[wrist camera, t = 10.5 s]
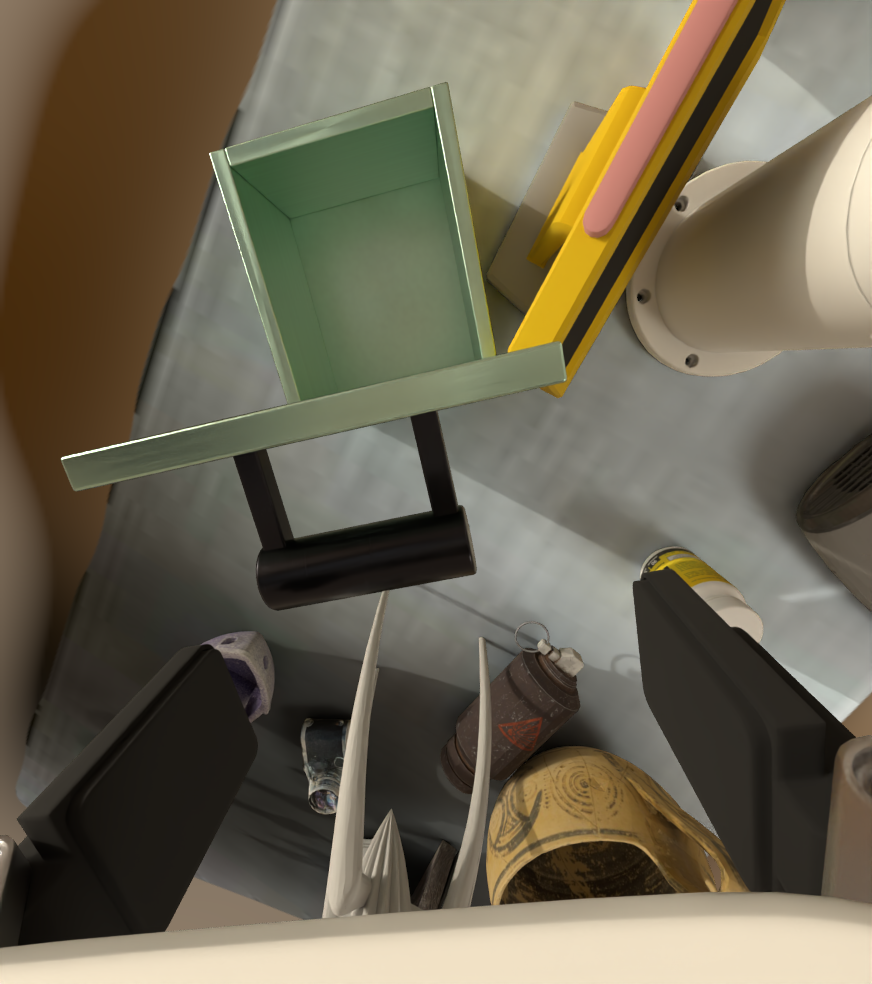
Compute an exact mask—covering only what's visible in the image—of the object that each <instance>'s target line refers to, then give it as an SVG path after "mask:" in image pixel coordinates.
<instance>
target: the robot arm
mask: <svg viewBox="0 0 872 984" xmlns="http://www.w3.org/2000/svg"><path fill="white" fill-rule="evenodd" d="M675 205H678V207H679V210H678V211H677V210H676V208H675ZM638 294H640V295H641V296H642V299H641V301H640V302H638V300H637V295H638ZM626 301H627V309H628V313H629V317H630V321H631V324H632V326H633V328H634V331H635V333H636V335H637V337H638V339H639V340H640V342H641V343H642V344H643V346H644V347H645V348H646V350H647V351H648V352H649V353H650V354H651V355H652V356H654V357H655V358H656V359H657V360H658V361H659V362H661V363H662V364H664V365H666V366H668V367H670V368H672V369H674V370H676V371H679V372H682V373H686V374H690V375H696V376H706V377H710V376H728V375H732V374H737V373H741V372H745V371H747V370H750V369H752V368H755V367H757V366H760V365H762V364H763V363H765V362H767V361H768V360H770V359H772V358H773V357H775V356H777V355H778V354H780V353H781V352H782V351H785V350H813V349H840V348H867V347H872V96H870V97H869V98H867V99H865V100H864V101H862V102H861V103H859V104H858V105H856V106H855V107H853V108H851V109H850V110H848V111H847V112H845V113H844V114H842V115H841V116H839V117H837V118H836V119H834V120H833V121H831V122H830V123H828V124H827V125H825V126H823V127H822V128H820V129H819V130H817V131H816V132H814V133H813V134H811V135H809V136H808V137H806V138H805V139H803V140H802V141H800V142H799V143H797V144H795V145H794V146H792V147H791V148H789V149H788V150H786V151H784V152H783V153H781V154H780V155H778V156H777V157H775V158H774V159H772V160H770V161H769V162H760V161H742V162H736V163H730V164H725V165H722V166H720V167H717V168H714V169H712V170H709V171H706V172H704V173H703V174H701V175H699V176H698V177H696V178H694V179H693V180H691V181H689V182H688V183H686V185H685V187H684V189H683V190H682V192H681V194H680V195H679V197H678V199H677V201H676V202H675V204H674V206H673V207H672V209H671V211H670V213H669V214H668V216H667V218H666V219H665V221H664V223H663V225H662V226H661V228H660V230H659V231H658V233H657V235H656V237H655V238H654V240H653V242H652V243H651V245H650V247H649V248H648V250H647V252H646V254H645V255H644V257H643V259H642V260H641V262H640V264H639V266H638V267H637V269H636V271H635V272H634V274H633V276H632V278H631V279H630V281H629V283H628V284H627V286H626ZM686 358H688V363H687V364H685V360H686ZM640 579H641V580H640V581H634V582H633V596H634V605H635V615H636V624H637V634H638V644H639V653H640V663H641V673H642V682H643V690H644V694H645V697H646V700H647V703H648V705H649V707H650V709H651V711H652V713H653V715H654V716H655V718H656V720H657V722H658V724H659V726H660V728H661V730H662V731H663V733H664V735H665V737H666V739H667V741H668V743H669V744H670V746H671V748H672V750H673V752H674V754H675V756H676V757H677V759H678V761H679V763H680V765H681V767H682V769H683V771H684V772H685V774H686V776H687V778H688V780H689V782H690V784H691V785H692V787H693V789H694V791H695V793H696V795H697V797H698V798H699V800H700V802H701V804H702V806H703V808H704V810H705V811H706V813H707V815H708V817H709V819H710V821H711V823H712V825H713V826H714V828H715V830H716V832H717V834H718V836H719V838H720V839H721V841H722V843H723V845H724V847H725V849H726V851H727V852H728V854H729V856H730V858H731V860H732V862H733V864H734V866H735V867H736V869H737V871H738V873H739V875H740V877H741V879H742V880H743V882H744V884H745V885H746V887H747V888H748V889H749V890H750V891H751V892H698V893H680V894H661V895H643V896H624V897H605V898H587V899H572V900H559V901H545V902H532V903H518V904H505V905H492V906H478V907H465V908H451V909H438V910H424V911H411V912H398V913H386V914H373V915H361V916H348V917H336V918H323V919H311V920H299V921H286V922H275V923H262V924H250V925H239V926H227V927H214V928H202V929H191V930H179V931H170V932H169V931H168V932H165V930H166V929H167V927H168V925H169V924H170V921H171V919H172V918H173V916H174V914H175V912H176V910H177V908H178V906H179V904H180V902H181V900H182V898H183V896H184V894H185V893H186V891H187V888H188V887H189V885H190V883H191V881H192V879H193V877H194V875H195V873H196V871H197V869H198V867H199V865H200V864H201V862H202V860H203V858H204V856H205V854H206V852H207V850H208V848H209V846H210V844H211V842H212V840H213V838H214V836H215V834H216V833H217V831H218V829H219V827H220V825H221V823H222V821H223V819H224V817H225V815H226V813H227V811H228V809H229V807H230V805H231V804H232V802H233V800H234V798H235V796H236V794H237V792H238V790H239V788H240V786H241V784H242V782H243V780H244V778H245V776H246V774H247V773H248V771H249V769H250V767H251V765H252V763H253V761H254V759H255V757H256V754H257V749H258V742H257V738H256V735H255V733H254V730H253V728H252V726H251V723H250V721H249V718H248V716H247V714H246V711H245V709H244V706H243V704H242V702H241V699H240V697H239V694H238V692H237V690H236V687H235V685H234V682H233V680H232V678H231V675H230V673H229V670H228V668H227V666H226V663H225V661H224V658H223V656H222V654H221V652H220V651H219V650H217V649H215V648H214V647H213V646H212V645H210V644H203V645H197V646H191V647H185V648H182V649H181V650H179V651H178V652H177V653H176V654H175V655H174V656H173V657H172V658H171V659H170V660H169V661H168V662H167V664H166V665H165V666H164V667H163V668H162V669H161V670H160V671H159V672H158V673H157V674H156V675H155V676H154V677H153V678H152V679H151V680H150V681H149V682H148V683H147V684H146V685H145V686H144V687H143V688H142V689H141V690H140V691H139V693H138V694H137V695H136V696H135V697H134V698H133V699H132V700H131V701H130V702H129V703H128V704H127V705H126V706H125V707H124V708H123V709H122V710H121V711H120V712H119V713H118V714H117V715H116V716H115V717H114V718H113V719H112V721H111V722H110V723H109V724H108V725H107V726H106V727H105V728H104V729H103V730H102V731H101V732H100V733H99V734H98V735H97V736H96V737H95V738H94V739H93V740H92V741H91V742H90V743H89V744H88V745H87V746H86V747H85V748H84V750H83V751H82V752H81V753H80V754H79V755H78V756H77V757H76V758H75V759H74V760H73V761H72V762H71V763H70V764H69V765H68V766H67V767H66V768H65V769H64V770H63V771H62V772H61V773H60V774H59V775H58V776H57V777H56V779H55V780H54V781H53V782H52V783H51V784H50V785H49V786H48V787H47V788H46V789H45V790H44V791H43V792H42V793H41V794H40V795H39V796H38V797H37V798H36V799H35V800H34V801H33V802H32V803H31V804H30V805H29V807H28V808H27V809H26V810H25V811H24V812H23V813H22V814H21V815H20V816H19V817H18V818H17V820H18V822H19V824H20V825H21V826H22V828H23V830H24V831H25V833H26V834H27V837H26V838H25V839H24V840H23V841H22V842H21V843H20V844H19V845H18V846H17V844H16V843H15V841H14V840H13V839H12V838H11V837H9V836H8V835H0V984H872V736H870V735H868V736H863V737H858V738H856V737H855V736H854V735H853V734H852V733H851V732H849V730H848V729H847V728H846V727H845V726H844V725H842V723H840V722H839V721H838V720H837V719H836V718H835V717H834V716H833V715H832V714H831V713H830V712H829V711H828V710H827V709H826V708H825V707H824V706H823V705H822V704H821V703H820V702H819V701H818V700H817V699H816V698H815V697H814V696H812V695H811V694H810V693H809V692H808V691H807V690H806V689H805V688H804V687H803V686H802V685H801V684H800V683H799V682H798V681H797V680H796V679H795V678H794V677H793V676H792V675H791V674H790V673H789V672H788V671H787V670H785V669H784V668H783V667H782V666H781V665H780V664H779V663H778V662H777V661H776V660H775V659H774V658H773V657H772V656H771V655H770V654H769V653H768V652H767V651H766V650H765V649H764V648H763V647H762V646H761V645H760V644H759V643H757V642H756V641H755V640H754V639H753V638H752V637H751V636H750V635H749V634H748V633H747V632H746V631H744V630H743V629H742V628H739V627H730V626H729V625H728V624H727V623H726V622H725V621H724V620H723V619H722V618H721V617H720V616H719V615H718V614H717V613H716V612H715V611H714V610H713V609H712V608H711V607H710V606H709V605H708V604H707V603H706V602H705V601H704V600H703V599H702V598H701V597H700V596H699V595H698V594H697V593H696V592H695V591H694V590H693V589H692V588H691V587H690V586H689V585H688V584H687V583H686V582H685V581H684V580H683V579H682V578H681V577H680V576H679V575H678V574H677V573H676V572H675V571H674V570H673V569H663V570H657V571H651V572H645V573H642V574H641V578H640Z"/></svg>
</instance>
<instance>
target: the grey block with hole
mask: <svg viewBox="0 0 872 984" xmlns="http://www.w3.org/2000/svg"><path fill="white" fill-rule="evenodd" d="M796 519H797V523H798V525H799V527H800V528H801V530H802V531H803V533H804V535H805V536H806V538H807V539H808V541H809V543H810V544H811V545H812V547H813V548H814V549H815V551H816V552H817V553H818V555H819V556H820V557H821V558H822V560H823V561H824V562H825V564H826V565H827V566H828V568H829V569H830V570H831V571H832V572H833V573H834V574H835V576H837V577H838V578H839V579H840V581H841V582H842V583H843V584H844V585H845V586H846V587H847V588H848V589H849V590H850V591H851V593H852V594H853V595H854V596H855V597H856V598H858V599H859V601H860V602H861V603H863V604H864V605H865V606H866V607H867V608H868V609H869V610H870V611H871V612H872V434H871V435H869V436H868V437H867V438H865V439H864V440H862V441H861V442H860V443H858V444H857V445H856V446H854V447H853V448H852V449H851V450H850V451H849V452H848V453H846V454H845V455H844V456H843V457H842V458H840V459H839V460H838V461H836V462H835V463H834V464H832V465H831V466H830V467H829V468H827V469H826V470H825V471H824V472H823V473H822V474H821V475H820V476H819V478H818V479H817V480H816V481H815V482H814V483H813V485H812V486H811V487H810V488H809V490H808V491H807V492H806V493H805V495H804V496H803V498H802V500H801V502H800V504H799V506H798V508H797V513H796Z"/></svg>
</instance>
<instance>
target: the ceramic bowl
mask: <svg viewBox="0 0 872 984" xmlns="http://www.w3.org/2000/svg"><path fill="white" fill-rule="evenodd" d="M703 849H704V850H705V851H706V852H707V853H708V854H709V855H710V856H711V857H712V858H713V859H714V860H715V861H716V862H717V864H718V866H719V868H720V871H721V886H720V889H719V891H717V888H716V884H715V880H714V876H713V874H712V871H711V868H710V866H709V863H708V860H707V858H706V855H705V852H704V850H703ZM486 869H487V881H488V887H489V894H490V901H491V905H505V904H518V903H532V902H545V901H559V900H572V899H587V898H605V897H624V896H643V895H661V894H680V893H698V892H751V891H750V890H749V889H748V888H747V887H746V885H745V884H744V882H743V880H742V879H741V877H740V875H739V873H738V871H737V869H736V867H735V866H734V864H733V862H732V860H731V858H730V856H729V854H728V852H727V851H726V849H725V847H724V845H723V843H722V841H721V840H720V839H719V838H718V837H716V836H715V835H714V834H713V833H712V832H710V831H709V830H708V829H707V828H706V827H704V826H703V825H702V824H701V823H699V822H698V821H697V820H696V819H694V818H693V817H692V816H690V815H689V814H688V813H686V812H685V811H684V810H682V809H681V808H680V806H679V805H678V804H677V802H676V801H675V800H674V799H673V798H672V797H671V796H670V795H669V794H668V793H667V792H666V791H665V790H664V789H663V788H662V787H661V786H660V785H659V784H658V783H657V782H656V781H654V780H653V779H652V778H651V777H650V776H649V775H647V774H646V773H645V772H644V771H642V770H641V769H639V768H638V767H636V766H635V765H633V764H632V763H630V762H628V761H626V760H624V759H622V758H620V757H618V756H616V755H614V754H611V753H609V752H606V751H602V750H599V749H595V748H591V747H584V746H564V747H558V748H553V749H550V750H547V751H544V752H542V753H540V754H538V755H536V756H534V757H532V758H531V759H530V760H528V761H527V762H526V763H524V764H523V765H522V766H521V767H520V768H519V769H517V770H516V771H515V773H514V774H513V775H512V776H511V778H510V779H509V780H508V781H507V782H506V784H505V785H504V787H503V789H502V790H501V792H500V794H499V796H498V798H497V801H496V803H495V806H494V809H493V812H492V815H491V820H490V825H489V831H488V839H487V859H486Z"/></svg>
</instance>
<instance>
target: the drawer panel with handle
mask: <svg viewBox="0 0 872 984" xmlns="http://www.w3.org/2000/svg"><path fill="white" fill-rule="evenodd" d="M566 380H567V374H566V368H565V361H564V355H563V348H562V343H561V342H560V341H556V342H551V343H547V344H543V345H538V346H534V347H530V348H526V349H521V350H517V351H513V352H509V353H504V354H500V355H496V356H491V357H487V358H483V359H479V360H474V361H470V362H466V363H461V364H457V365H453V366H449V367H444V368H440V369H436V370H431V371H427V372H423V373H419V374H414V375H410V376H406V377H401V378H397V379H393V380H389V381H384V382H380V383H376V384H372V385H367V386H363V387H359V388H354V389H350V390H346V391H342V392H337V393H333V394H329V395H324V396H320V397H316V398H312V399H307V400H303V401H299V402H294V403H290V404H286V405H282V406H277V407H273V408H269V409H265V410H260V411H256V412H252V413H247V414H243V415H239V416H235V417H230V418H226V419H222V420H217V421H213V422H209V423H205V424H200V425H196V426H192V427H187V428H183V429H179V430H175V431H170V432H166V433H162V434H157V435H153V436H149V437H145V438H140V439H136V440H132V441H128V442H123V443H119V444H115V445H110V446H106V447H103V448H98V449H94V450H89V451H85V452H81V453H76V454H72V455H68V456H64V457H62V458H61V462H62V464H63V467H64V469H65V471H66V474H67V476H68V478H69V481H70V483H71V486H72V488H73V490H74V491H81V490H86V489H90V488H95V487H99V486H104V485H108V484H113V483H117V482H122V481H126V480H131V479H135V478H139V477H144V476H148V475H153V474H157V473H162V472H166V471H171V470H175V469H180V468H184V467H189V466H193V465H198V464H202V463H206V462H211V461H215V460H220V459H224V458H229V457H233V458H234V461H235V464H236V467H237V470H238V473H239V476H240V479H241V482H242V485H243V488H244V491H245V495H246V498H247V501H248V504H249V507H250V510H251V513H252V516H253V519H254V522H255V525H256V528H257V531H258V534H259V537H260V540H261V543H262V546H263V548H262V549H261V551H260V553H259V555H258V558H257V564H256V579H257V585H258V589H259V592H260V595H261V597H262V599H263V601H264V602H265V604H266V605H267V606H268V607H269V608H271V609H273V610H277V611H279V610H285V609H290V608H295V607H301V606H306V605H312V604H317V603H323V602H328V601H333V600H339V599H344V598H350V597H355V596H361V595H366V594H371V593H377V592H382V591H388V590H393V589H399V588H404V587H409V586H415V585H420V584H426V583H431V582H436V581H442V580H447V579H453V578H458V577H464V576H469V575H474V574H476V571H477V567H476V560H475V554H474V548H473V543H472V538H471V533H470V528H469V524H468V519H467V515H466V511H465V508H464V507H463V506H462V505H458V502H457V497H456V493H455V488H454V484H453V479H452V474H451V470H450V465H449V461H448V456H447V452H446V447H445V442H444V438H443V433H442V429H441V424H440V420H439V415H438V411H439V410H443V409H448V408H452V407H457V406H461V405H465V404H470V403H474V402H479V401H483V400H488V399H492V398H497V397H501V396H506V395H510V394H515V393H519V392H524V391H528V390H532V389H537V388H541V387H546V386H550V385H555V384H559V383H564V382H565V381H566ZM407 417H411V422H412V426H413V430H414V434H415V439H416V443H417V447H418V452H419V456H420V460H421V465H422V469H423V473H424V477H425V482H426V486H427V490H428V495H429V499H430V503H431V508H432V511H428V512H423V513H418V514H413V515H408V516H403V517H398V518H393V519H388V520H383V521H378V522H373V523H368V524H363V525H358V526H354V527H349V528H344V529H339V530H334V531H329V532H324V533H319V534H314V535H309V536H304V537H299V538H294V537H293V534H292V531H291V528H290V524H289V521H288V518H287V515H286V512H285V508H284V505H283V502H282V499H281V495H280V492H279V489H278V486H277V483H276V479H275V476H274V473H273V470H272V466H271V463H270V460H269V457H268V453H267V450H266V449H269V448H273V447H278V446H282V445H287V444H291V443H296V442H300V441H305V440H309V439H314V438H318V437H323V436H327V435H332V434H336V433H340V432H345V431H349V430H354V429H358V428H363V427H367V426H372V425H376V424H381V423H385V422H390V421H394V420H398V419H403V418H407Z"/></svg>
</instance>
